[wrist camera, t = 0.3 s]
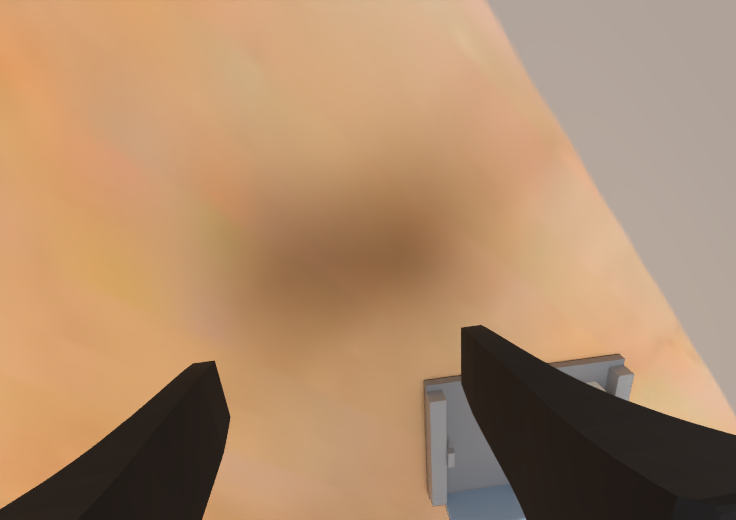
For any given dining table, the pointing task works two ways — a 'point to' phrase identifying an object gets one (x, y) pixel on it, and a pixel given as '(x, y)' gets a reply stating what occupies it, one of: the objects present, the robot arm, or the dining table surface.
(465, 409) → the grey ribbed plate
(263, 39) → the dining table surface
